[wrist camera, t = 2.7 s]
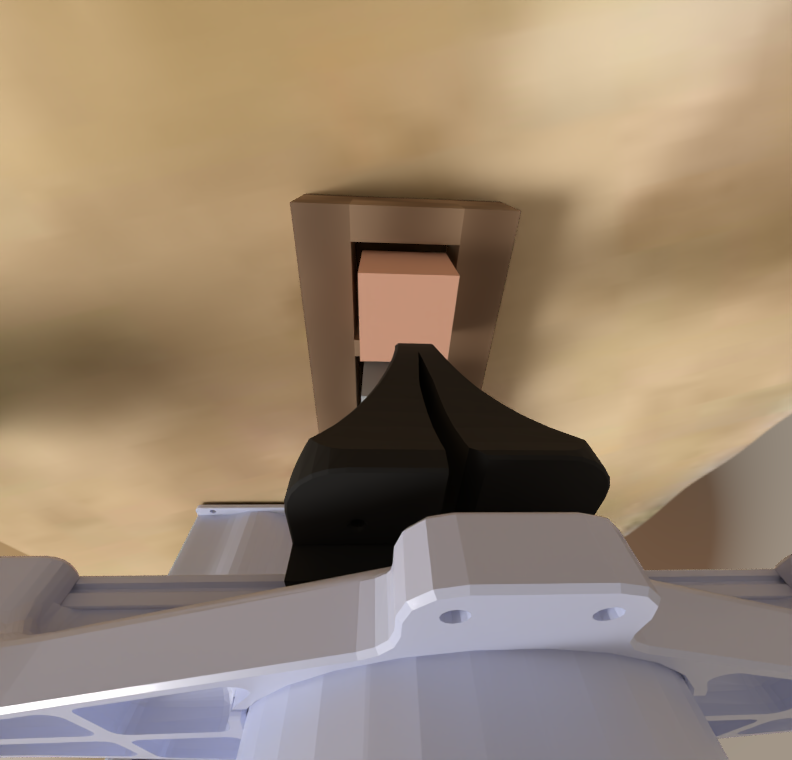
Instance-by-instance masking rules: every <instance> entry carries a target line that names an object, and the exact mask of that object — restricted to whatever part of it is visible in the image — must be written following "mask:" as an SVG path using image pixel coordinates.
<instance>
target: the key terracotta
mask: <svg viewBox="0 0 792 760" xmlns="http://www.w3.org/2000/svg"><path fill="white" fill-rule="evenodd" d="M459 278H460V275H459V274H458V272H457V270H456V269H455V267H454V266H453V264H452V262H451V261H450V259H449V257H448V256H447V254H446V253H434V252H403V251H371V250H362V255H361V260H360V265H359V270H358V299H359V336H360V361H379V362H391V359H392V357H393V354H394V351H395V345H397V344H398V343H417V344H433V345H434V346H435V347H436V348H437V349H438V351H439V352H440V353H441V354H442V355H443V356H444V357H445V358H446V359H447V360H448V354H449V347H450V340H451V333H452V326H453V319H454V312H455V305H456V298H457V292H458V285H459Z"/></svg>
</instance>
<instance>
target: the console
mask: <svg viewBox="0 0 792 760" xmlns="http://www.w3.org/2000/svg"><path fill="white" fill-rule="evenodd" d="M290 206H291V214H292V222H293V230H294V238H295V246H296V254H297V262H298V270H299V278H300V286H301V294H302V302H303V310H304V318H305V326H306V334H307V342H308V350H309V358H310V366H311V374H312V382H313V390H314V398H315V406H316V414H317V422H318V430H319V433H321V432H323V431H325V430H326V429H328V428H330V427H332V426H333V425H335V424H336V423H338V422H339V421H340V420H342V419H343V418H344V417H346V416H347V415H348V414H349V413H351V412H352V411H353V410H354V409H355V408H356V407H357V406H358V405H359V404H360V403H361V394H360V372H359V356H360V336H359V316H358V302H357V266H356V242H378V243H408V244H439V245H447V249H446V254H447V256H448V257H449V259H450V261H451V262H452V264H453V266H454V267H455V269H456V270H457V272H458V274H459V275H460V278H459V285H458V292H457V298H456V305H455V312H454V319H453V326H452V333H451V340H450V347H449V354H448V361H449V362H450V363H451V364H452V365H453V366H454V367H455V368H456V369H457V370H458V371H459V372H460V373H461V374H462V375H463V376H464V377H465V378H467V379H468V380H469V381H470V382H471V383H473V384H474V385H475V386H476V387H478V388H479V389H480V390H481V388H482V384H483V379H484V375H485V370H486V366H487V361H488V357H489V352H490V348H491V343H492V339H493V335H494V330H495V326H496V321H497V317H498V312H499V308H500V303H501V299H502V294H503V290H504V285H505V281H506V277H507V272H508V268H509V263H510V259H511V254H512V250H513V245H514V241H515V236H516V232H517V228H518V223H519V219H520V214H521V211H520V210H518V209H515V208H513V207H511V206H508V205H506V204H504V203H502V202H491V201H465V200H440V199H414V198H388V197H363V196H337V195H312V194H304V195H302V196H300V197H299V198H297V199H295V200H293V201H291V202H290Z"/></svg>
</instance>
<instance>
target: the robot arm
mask: <svg viewBox="0 0 792 760" xmlns="http://www.w3.org/2000/svg"><path fill="white" fill-rule="evenodd" d="M609 488H610V477H609V475H608V473H607V471H606V469H605V468H604V466H603V465H602V463H601V462H600V460H599V459H598V457H597V456H596V454H595V453H594V452H593V450H592V449H591V447H590V446H589V445H588V443H587V442H586V441H585V440H583V439H580V438H577V437H575V436H572V435H569V434H566V433H563V432H561V431H558V430H555V429H552V428H550V427H547V426H545V425H543V424H541V423H538V422H536V421H534V420H532V419H529V418H527V417H525V416H523V415H521V414H519V413H517V412H515V411H514V410H512V409H510V408H508V407H507V406H505V405H503V404H501V403H500V402H498V401H496V400H495V399H493V398H492V397H490V396H489V395H487V394H486V393H485V392H483V391H482V390H480V389H479V388H478V387H476V386H475V385H474V384H473V383H471V382H470V381H469V380H468V379H467V378H465V377H464V376H463V375H462V374H461V373H460V372H459V371H458V370H457V369H456V368H455V367H454V366H453V365H452V364H451V363H450V362H449V361H448V360H447V359H446V358H445V357H444V356H443V355H442V354H441V353H440V352H439V351H438V349H437V348H436V347H435V346H434V345H433V344H417V343H398V344H397V345H395V351H394V354H393V357H392V359H391V362H390V363H389V365H388V367H387V369H386V371H385V373H384V374H383V376H382V377H381V379H380V381H379V382H378V384H377V385H376V386H375V388H374V389H373V390H372V391H371V393H370V394H369V395H368V396H367V397H366V398H365V399H364V400H363V401H362V402H361V403H360V404H359V405H358V406H357V407H356V408H355V409H354V410H353V411H352V412H351V413H349V414H348V415H347V416H346V417H344V418H343V419H342V420H340V421H339V422H338V423H336V424H335V425H333V426H332V427H330V428H328V429H326V430H325V431H323V432H321V433H319V434H318V435H316V436H314V437H312V438H310V439H309V440H308V442H307V444H306V445H305V447H304V449H303V451H302V453H301V455H300V457H299V459H298V461H297V463H296V465H295V468H294V470H293V472H292V475H291V478H290V481H289V485H288V488H287V492H286V496H285V499H284V504H260V505H199V506H198V507H197V509H196V512H197V514H198V517H197V519H196V521H195V523H194V524H193V526H192V528H191V530H190V532H189V534H188V536H187V538H186V540H185V542H184V544H183V546H182V548H181V550H180V552H179V554H178V556H177V558H176V560H175V562H174V564H173V566H172V568H171V570H170V572H169V574H168V575H157V576H79V574H78V572H77V571H76V569H75V568H74V567H73V566H72V565H71V564H70V563H68V562H67V561H65V560H63V559H60V558H57V557H50V556H0V758H1V757H2V758H3V757H81V758H82V757H84V758H86V757H87V758H105V760H729V759H728V757H727V755H726V753H725V752H724V750H723V748H722V746H721V745H720V743H719V741H718V739H719V738H729V737H739V736H750V735H760V734H771V733H782V732H792V554H791V555H789V556H787V557H785V558H784V559H783V560H782V561H780V562H779V563H778V564H777V565H776V567H775V569H723V570H722V569H718V570H717V569H716V570H715V569H711V570H643V568H642V566H641V564H640V563H639V561H638V560H637V558H636V556H635V555H634V553H633V552H632V550H631V548H630V547H629V545H628V544H627V542H626V540H625V539H624V537H623V535H622V534H621V532H620V530H619V529H618V528H617V527H616V526H615V525H614V524H613V523H612V522H611V521H610V520H609V519H608V518H604V517H601V516H596V515H595V513H596V512H597V510H598V508H599V507H600V505H601V504H602V502H603V501H604V499H605V497H606V495H607V492H608V490H609Z"/></svg>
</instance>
